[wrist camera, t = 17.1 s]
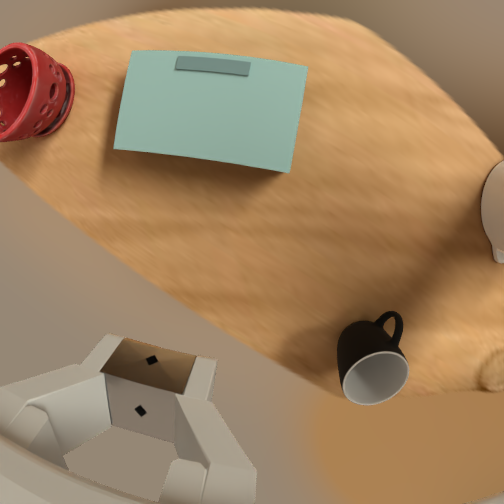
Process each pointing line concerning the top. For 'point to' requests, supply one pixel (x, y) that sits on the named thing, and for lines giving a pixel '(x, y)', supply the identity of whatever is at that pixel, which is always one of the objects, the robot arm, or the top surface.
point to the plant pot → (33, 93)
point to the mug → (371, 361)
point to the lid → (212, 107)
